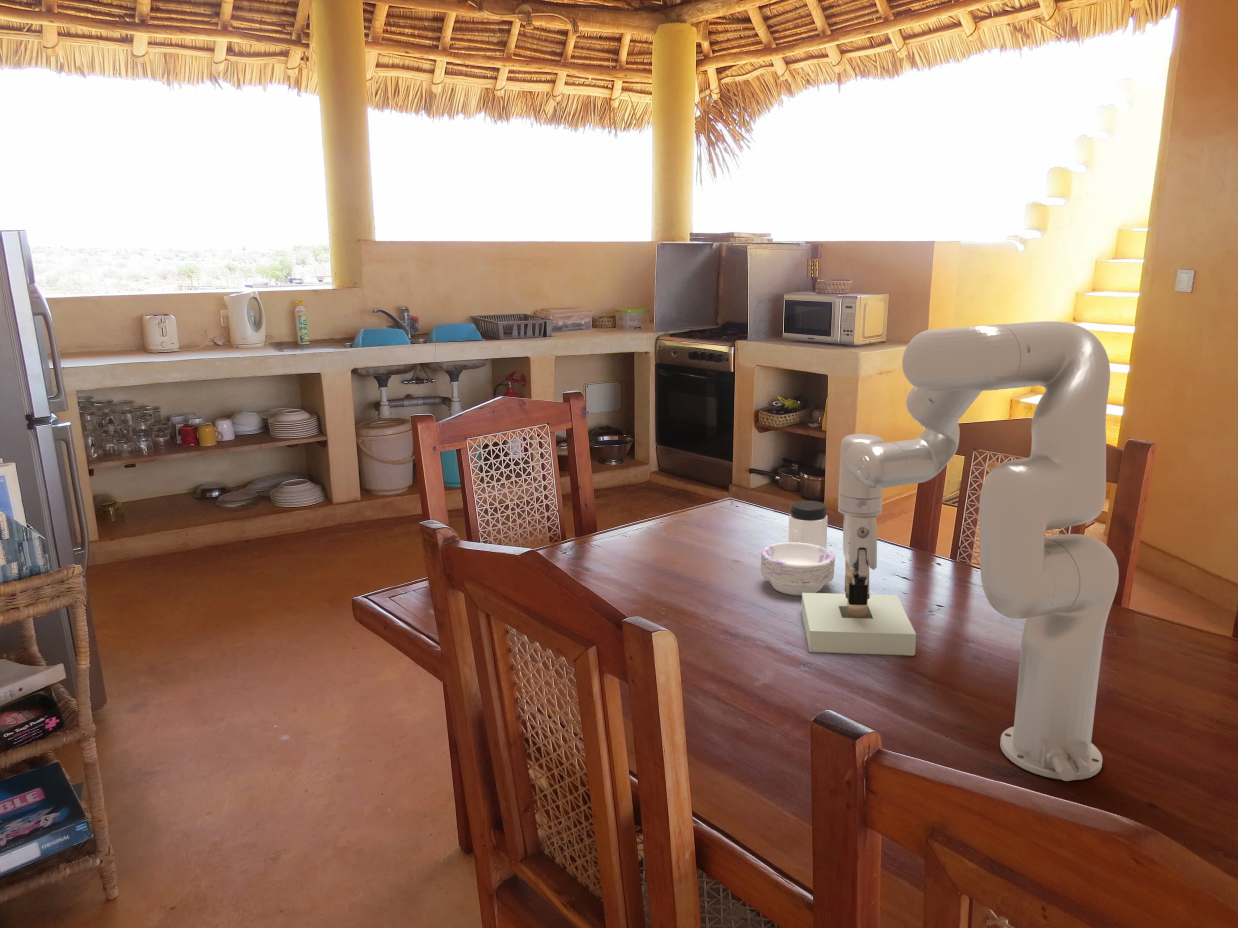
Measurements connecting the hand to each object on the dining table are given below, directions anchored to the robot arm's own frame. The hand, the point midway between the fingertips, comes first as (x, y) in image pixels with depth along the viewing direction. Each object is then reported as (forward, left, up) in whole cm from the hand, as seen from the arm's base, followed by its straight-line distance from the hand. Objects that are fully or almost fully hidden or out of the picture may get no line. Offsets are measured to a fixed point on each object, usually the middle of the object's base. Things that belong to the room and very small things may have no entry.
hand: (855, 597), depth 157 cm
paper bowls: (+22, +9, -7) cm, 25 cm away
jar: (+44, +5, -7) cm, 45 cm away
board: (0, 0, -7) cm, 7 cm away
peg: (-1, 0, -4) cm, 4 cm away
